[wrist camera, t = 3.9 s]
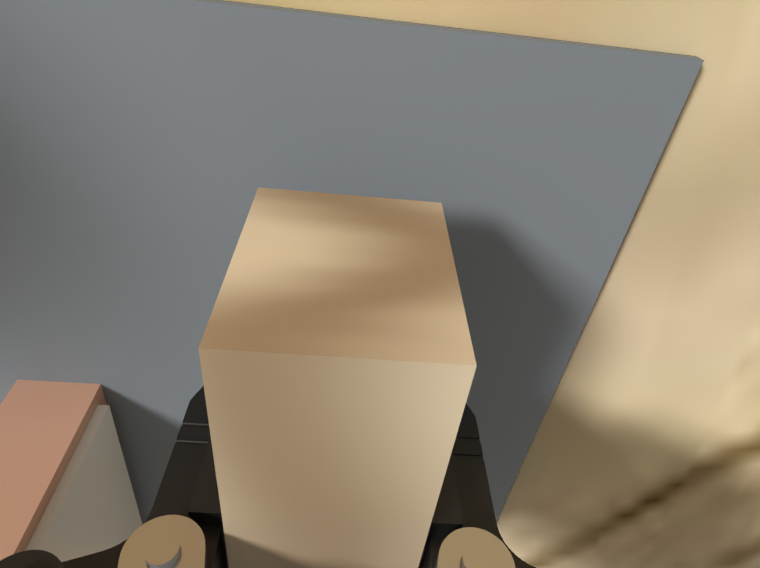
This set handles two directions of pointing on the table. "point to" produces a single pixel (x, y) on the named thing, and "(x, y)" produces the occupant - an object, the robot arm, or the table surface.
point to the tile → (62, 472)
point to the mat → (303, 186)
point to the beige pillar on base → (335, 380)
